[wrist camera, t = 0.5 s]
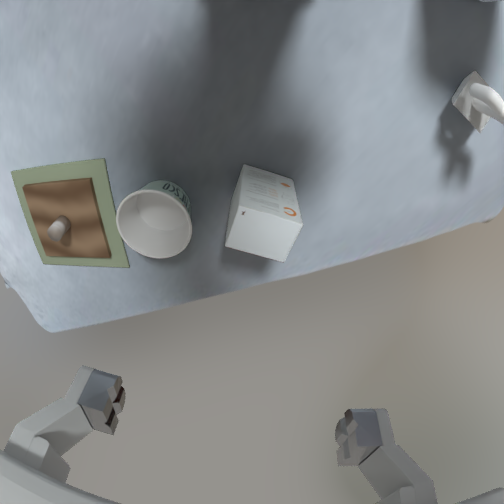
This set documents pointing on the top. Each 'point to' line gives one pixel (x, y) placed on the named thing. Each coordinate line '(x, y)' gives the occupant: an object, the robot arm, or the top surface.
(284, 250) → the small box
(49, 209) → the walnut lid
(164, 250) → the food container
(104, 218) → the olive mat
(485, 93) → the figurine
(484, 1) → the plastic bottle
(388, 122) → the top surface
